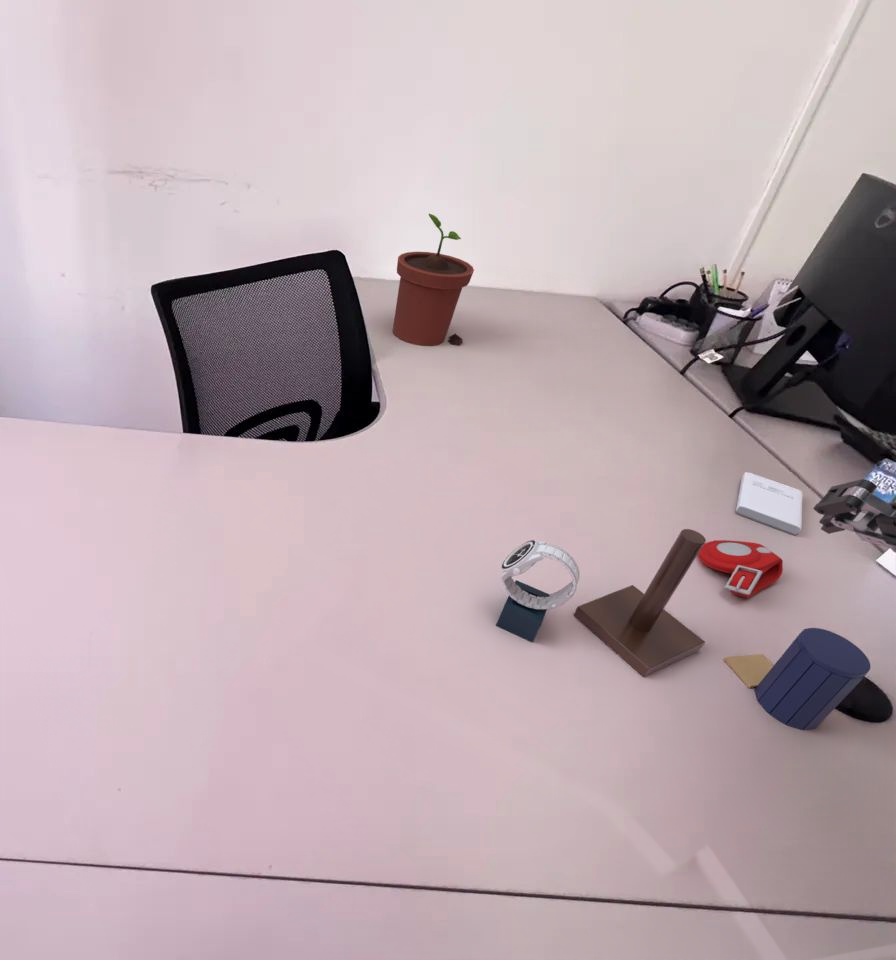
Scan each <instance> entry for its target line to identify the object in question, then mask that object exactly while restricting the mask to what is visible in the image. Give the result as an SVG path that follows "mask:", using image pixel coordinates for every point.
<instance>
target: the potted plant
mask: <svg viewBox="0 0 896 960" xmlns="http://www.w3.org/2000/svg"><path fill="white" fill-rule="evenodd" d="M428 217H429V218H430V219H431V221H432V222H433V225H434V226H435V227H436V228H437V229H438V230H439V233H440V235H441V236H440V240H439V245H438V248H437V252H430V251H407V252H404V253H401V254H399V255H398V256H397V263H396V273H397V275H398V276H399V284H398V292H397V297H396V303H395V304H396V305H395V311H394V318H393V324H392V335H394V336H395V337H396V338H397V339H399V340H401V341H403V342H406V343H409V344H412V345H416V346H423V347H424V346H425V347H433V346H439V345H441V344H443V343H444V342H445V340H446V337H447V336H448V335H447V334H448V331H449V329H450V325H451V322H452V320H453V317H454V314H455V311H456V308H457V305H458V303H459V299H460V295H461V293H462V290H463V288H465V287H467V286H468V285H469V284H470V282H471V279H472V277H473V274H474V272H475V269H474V267H473V266H472V264H470V263H469V262H467V261H465V260H463V259H460V258H457V257H454V256H451V255H447V254H443V253H441V251H442V245H443V241H444V239H450V240H456V241H457V240H458V241H459V240H461V239H462V238H461V237H460V235H459V234H458V233H457V232H455V231H453V230H450V231H449V232H448V235H444V234H445V233H444V231H443V229H442V222H441V220H439V218H438V217H437V216H436V215H435V214H431V213H428ZM447 341H448V342H449V343H450V345H455V346H461V345H463V344H464V342H463V341H464V340H463V338H462V337H461V336H459V335H458V334H457V333H454V334H452V335H450V336H449V337H448V340H447Z"/></svg>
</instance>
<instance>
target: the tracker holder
mask: <svg viewBox="0 0 896 960" xmlns="http://www.w3.org/2000/svg"><path fill="white" fill-rule="evenodd" d="M697 557H698V559H699V561H700V562H701V563H702V564H704V565H705V566H707V567H709V568H710V569H713V570H716V571H717V572H718V571H719V572H722V573H727V574H731V576H730V577H729V579H728V580H727V582H726V584H725V585H724V589H725V590H729V592H730V593H731V594H733V595H737V596H738V597H739V596H740V597H743V598H747V599H748V598H751V597H753V596H754V595H756V594H758V593H759V592H761V591H763V590H764V589H766V588H768V587H769V586H771V585H773V584H774V583H776V582H777V581H778V580H780V578H781V576H782V574H783V569H784V567H783V564H784V561H783V559H782V558H781V557H780V556H779V555H777V554H775V552H773V551H772V550H771V549H769V548H768V547H766V546H764V545H762V544H761V543H757V542H751V541H741V540H726V539H725V540H724V539H721V540H720V539H719V540H711V541H707V542H705V544H704V545H703V547H702V548H701V550H700V552H699V553H698V555H697Z"/></svg>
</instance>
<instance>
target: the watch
mask: <svg viewBox="0 0 896 960" xmlns="http://www.w3.org/2000/svg"><path fill="white" fill-rule="evenodd" d="M544 558H547V559H550V560H552V561H554V562H557V563H558V564H559V565H560V566H562V567H564V569H565V570H566V571H567V573H568V574H569V576H570V578H571V582H568V583H567V585H565V586H563V587H562V588H561V589H559V590H557V591H555V592H552V593H547V592H545V591H542V590H541V589H539V588H536V587H534V586H531V585H530V584H529V585H528V584H526V583H524V582H522V581H520V580H517V579H515V580H514V577H517V576H520V575H522V574H525V573H526V572H527V571H529V570H530V569H531V568H532V567H533V566H534V565H535V564H536V563H537V562H540V561H542V560H543V559H544ZM500 567H501V568H500V569H501V570H502V574H501V576H500V579H501V585H502V587H503V589H504V590H505V593H506V594H507V595H508V596H507V597H506V598H507V599H506V600H505V602H504V605H503V607H502V609H501V611H500V614H499V617H498V619H497V622H496V624H495V626H496V627H498V628H500V629H502V630H505V631H507V632H509V633H511V634H514V635H515V636H517V637H520V638H522V639H524V640H526V641H528V642H531V643H534V641H535V640H536V637H537V635H538V632H539V630H540V628H541V626H542V624H543V621H544V618H545V616H546V613H547V611H551V610H554V609H556V608H558V607H561V606H563V605H564V604H566V603H567V602H569V600H571V599H572V598H573V597H574V595H575V594H576V591H577V587H578V584H579V580H580V570H579V566H578V564H577V562H576V561H575V559H574V558H573V557H572V555H570V553H569V552H567V551H566V550H565V549H563V548H562V547H560V546H558V545H554V544H552V543H549V542H548V541H537V540H536V539H531V540H527V541H526V542H523V543H522V544H521V545H519V546H517V547H516V548H515V549H513V550H512V551H511V553H509V554H508V555H507V557H506V558H505V559H504V560H503V562H502V564H501V566H500ZM512 577H513V578H512Z"/></svg>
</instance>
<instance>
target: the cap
mask: <svg viewBox="0 0 896 960" xmlns="http://www.w3.org/2000/svg"><path fill="white" fill-rule="evenodd" d="M723 661H724V662H725V663H726V664H727V665H728V667H729V668H730V669H731V668H732V669H731V670H732V671H733V672H734V673H735V675H737V676H738V678H739V679H740V680H741V681H742V682H743V683H744V684H745V686H746V687H747V688H748V689H754V693H755V697H756V701H757V702H758V704H759V705H760V706H761V705H762V706H761V707H762V708H763V709H764V711H766V713H768V714H769V715H770V716H771V717H773V718H775V719H776V720H778V721H779V722H780V723H782V724H784V725H786V726H788V727H791V728H794V729H798V730H801V731H809V730H815V729H817V728H818V727H819V726H820V724H822V722H824V720H825V719H826V718H828V716H829V715H830V714H831V713H832V712H834V710H835V709H836V708H837V707H838V705H840V703H842V702H843V700H844V699H845V698H846V697H847V696H848V695H849V694H850V693H851V692H852V691H853V690H854V689H855V688H856V686H858V685H859V684H860V682H862V680H863V679H864V678H865V676H867V674H868V673H869V672H870V670H871V662H870V660H869V658H868V656H867V655H866V654H865V652H864V651H862V650H861V648H859V646H857V645H856V644H854V643H853V642H852V641H850V640H849V639H847V638H845V637H843V636H842V635H840V634H838V633H836V632H834V631H830V630H828V629H823V628H818V627H808V628H804V629H803V630H802V631H801V632H799V634H798V635H797V636H796V637H795V639H793V640H792V642H791V644H790V645H789V646H788V647H787V648H786V649H785V651H784V652H783V653H782V654H781V656H780V657H779V658H778V660H777V661H776V662H775V663H774V664H773V663H772V662H771V661H770V660H769V659H768V658H767V657H766V656H765V654H763V653H760V654H750V655H749V654H748V655H737V656H736V655H735V656H725V657H724V658H723ZM754 687H755V688H754Z"/></svg>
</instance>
